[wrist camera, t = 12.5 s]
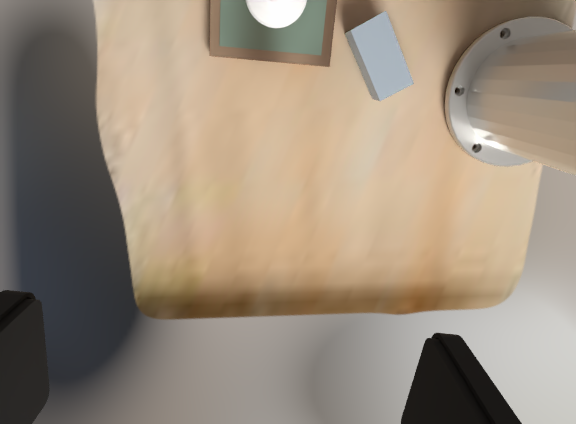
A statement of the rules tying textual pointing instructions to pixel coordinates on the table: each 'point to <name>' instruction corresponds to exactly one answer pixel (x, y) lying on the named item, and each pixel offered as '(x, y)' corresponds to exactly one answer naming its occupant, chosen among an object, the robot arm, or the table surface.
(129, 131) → the table surface
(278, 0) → the chess piece
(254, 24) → the green-topped square tray
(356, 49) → the slate-blue brick
